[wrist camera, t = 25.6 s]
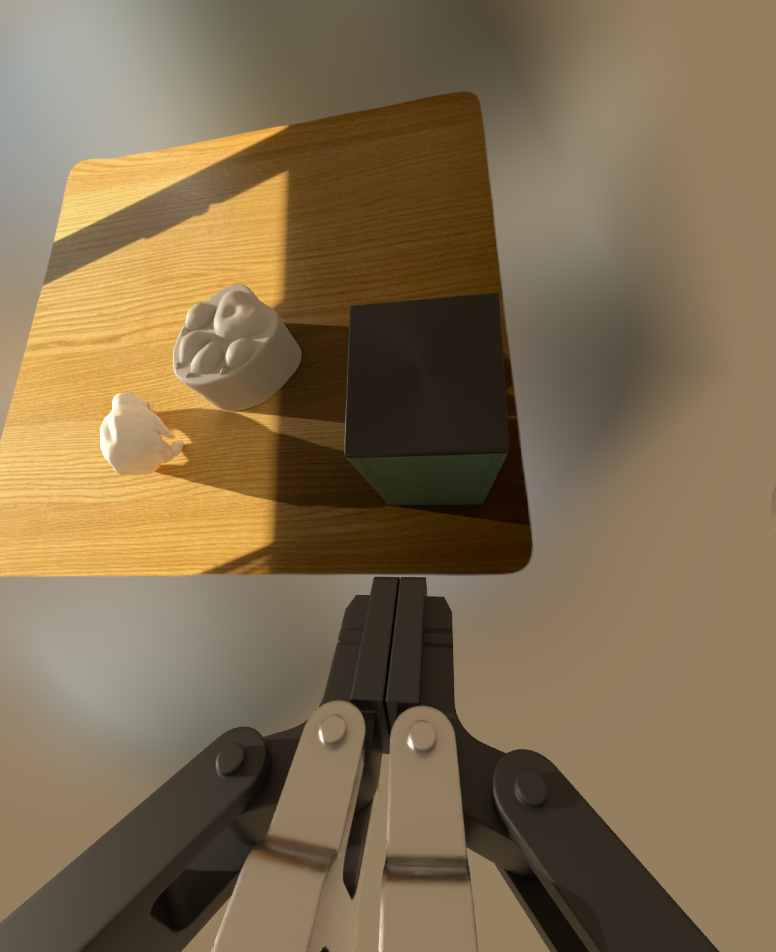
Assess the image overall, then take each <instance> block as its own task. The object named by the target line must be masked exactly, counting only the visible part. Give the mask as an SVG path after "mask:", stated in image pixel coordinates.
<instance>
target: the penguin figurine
mask: <svg viewBox="0 0 776 952" xmlns="http://www.w3.org/2000/svg"><path fill="white" fill-rule="evenodd" d="M148 403H149V402H148ZM148 403H147V404H146V403H145V401H144V400H143V399H142V398H141V397H140V396H139V395H137V394H135V393H131V392H123V393H119V394H117V395H116V396H115V397H114V399H113V402H112V411H111V412H110V413H109V415H108V416H106V417H105V419H104V421H103V423H102V425H101V428H100V448H101V450H102V453H103V455H104V457H105V459H106V460H107V461H108V462H109V463H110V464H111V465H112V467H113V470H114V471H115V472H117V473H119V474H121V475H125V474H128V475H147V474H151V473H152V472H154V471H155V470H157V469H158V467H159V466H160V464H161V463H166V462H168V461H170V460H172V459H173V458H174V457H176V456H178V455H179V454H180V452H181V450H182V449H183V446H184V443H183V441H176V442H174V443H172V444H170V445H169V444H168V443H166V442H165V441H163V440H162V436H161V435H163V436H165V437H167V438H170V439H172V438H174V437H175V436H174V435H173V434H172V433H171V432H170V431H169V429H168V428H167V427H166V426H165V425H164V423H163V421H162V420H161V419H160V417H159V416H158V415H156V414H155V413H153V412H152V411H156V410H152V409H151V408H154V407H151V408H150V406H151V405H152V404H153V403H152V402H150V403H149V405H148ZM151 403H152V404H151ZM150 404H151V405H150ZM160 434H161V435H160Z"/></svg>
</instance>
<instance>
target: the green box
mask: <svg viewBox="0 0 776 952" xmlns="http://www.w3.org/2000/svg"><path fill="white" fill-rule="evenodd" d="M507 454H508V453H506V454H474V455H443V456H412V457H380V458H349V459H348V458H347V459H348V460H349V461H350V463H351V464H352V465H353V466H354V467H355V468H356V469H357V470H358V471H359V473H360V474H361V475H362V476H363V477H364V478H365V479H366V480H367V481H368V483H369V484H370V485H371V486H372V487H373V488H374V489H375V490H376V492H377V493H378V494H379V495H380V496H381V497H382V498H383V499H384V500H385V502H386V503H387V504H388V505H389V506H391V505H464V504H483V503H484V501H485V499H486V497H487V495H488V493H489V491H490V489H491V486H492V484H493V482H494V480H495V478H496V476H497V474H498V472H499V470H500V468H501V466H502V464H503V462H504V460H505V458H506V456H507Z"/></svg>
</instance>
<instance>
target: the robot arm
mask: <svg viewBox="0 0 776 952" xmlns="http://www.w3.org/2000/svg"><path fill="white" fill-rule="evenodd" d="M382 754H390V758H389V789H388V792H389V793H388V823H387V850H386V851H387V852H386V861H385V866H384V870H383V877H382V889H381V908H380V934H379V952H478V944H477V935H476V924H475V915H474V904H473V895H472V886H471V878H470V871H469V866H468V859H467V849H466V847H467V848H469V849H471V850H472V851H474V852H476V853H478V854H479V855H481V856H483V857H485V858H486V859H488V860H490V861H492V862H493V863H495V865H496V867H497V869H498V870H499V872H500V873H501V875H502V876H503V878H504V880H505V881H506V883H507V884H508V886H509V888H510V889H511V890H512V892H513V894H514V895H515V897H516V899H517V900H518V902H519V903H520V905H521V906H522V908H523V909H524V911H525V913H526V914H527V916H528V917H529V919H530V920H531V922H532V924H533V925H534V927H535V928H536V930H537V932H538V933H539V935H540V936H541V938H542V939H543V941H544V943H545V944H546V946H547V947H548V949H549V950H550V952H719V951H718V950H717V948H716V947H715V946H714V945H713V944H712V943H711V942H710V941H709V939H708V938H707V937H706V936H705V935H704V934H703V933H702V932H701V930H700V929H699V928H698V927H697V926H696V925H695V923H694V922H693V921H692V920H691V919H690V918H689V917H688V916H687V914H686V913H685V912H684V911H683V910H682V909H681V908H680V907H679V906H678V904H677V903H676V902H675V901H674V900H673V899H672V897H671V896H670V895H669V894H668V893H667V892H666V891H665V890H664V888H663V887H662V886H661V885H660V884H659V883H658V882H657V880H656V879H655V878H654V877H653V876H652V875H651V874H650V873H649V871H648V870H647V869H646V868H645V867H644V866H643V865H642V864H641V862H640V861H639V860H638V859H637V858H636V857H635V856H634V854H633V853H632V852H631V851H630V850H629V849H628V848H627V847H626V845H625V844H624V843H623V842H622V841H621V840H620V839H619V837H618V836H617V835H616V834H615V833H614V832H613V831H612V830H611V828H610V827H609V826H608V825H607V824H606V823H605V822H604V821H603V819H602V818H601V817H600V816H599V815H598V814H597V813H596V811H595V810H594V809H593V808H592V807H591V806H590V805H589V804H588V802H587V801H586V800H585V799H584V798H583V797H582V796H581V795H580V793H579V792H578V791H577V790H576V789H575V788H574V787H573V785H572V784H571V783H570V782H569V781H568V780H567V779H566V777H565V776H564V775H563V774H562V773H561V772H560V771H559V770H558V768H557V767H556V766H555V765H554V764H553V763H552V762H551V761H550V760H548V759H547V758H546V757H544V756H543V755H541V754H539V753H537V752H534V751H531V750H526V749H518V750H513V751H511V752H508V753H507V754H506V753H504V752H501V751H499V750H497V749H495V748H493V747H490V746H488V745H486V744H484V743H482V742H480V741H478V740H476V739H475V738H474V737H472V736H471V735H470V734H469V733H468V732H467V731H466V730H465V729H464V727H463V726H462V724H461V722H460V721H459V719H458V716H457V714H456V710H455V704H454V669H453V634H452V611H451V609H450V608H449V606H448V604H447V602H446V600H445V598H444V597H429V596H427V586H426V578H425V577H423V578H422V577H401V578H399V577H374V579H373V584H372V589H371V594H370V595H356V596H355V597H354V599H353V600H352V601H351V603H350V604H349V606H348V607H347V608H346V611H345V614H344V618H343V622H342V627H341V630H340V633H339V637H338V643H337V645H336V649H335V653H334V657H333V661H332V665H331V669H330V673H329V677H328V681H327V685H326V689H325V693H324V696H323V699H322V701H321V703H320V706H319V707H318V709H316V710H315V711H314V712H313V713H312V715H311V716H310V717H309V719H308V720H307V721H305V722H304V723H302V724H301V725H299V726H297V727H295V728H292V729H289V730H286V731H282V732H279V733H275V734H272V735H269V736H265V737H262V735H261V734H260V733H259V732H258V731H257V730H255V729H253V728H250V727H238V728H234V729H232V730H229V731H227V732H226V733H224V734H222V735H221V736H220V737H218V738H217V739H216V740H215V741H214V742H212V743H211V744H210V745H209V746H208V747H207V748H205V750H203V751H202V752H201V753H200V754H198V755H197V756H196V757H195V758H194V759H192V760H191V761H190V762H189V763H188V764H187V765H185V766H184V767H183V768H182V769H181V770H180V771H178V772H177V773H176V774H175V775H174V776H173V777H171V778H170V779H169V780H168V781H167V782H165V783H164V784H163V785H162V786H161V787H160V788H158V789H157V790H156V791H155V792H154V793H153V794H151V795H150V796H149V797H148V798H147V799H145V800H144V801H143V802H142V803H141V804H140V805H138V806H137V807H136V808H135V809H134V810H133V811H131V812H130V813H129V814H128V815H127V816H125V817H124V818H123V819H122V820H121V821H120V822H118V823H117V824H116V825H115V826H114V827H113V828H111V829H110V830H109V831H108V832H107V833H106V834H104V835H103V836H102V837H101V838H100V839H99V840H97V841H96V842H95V843H94V844H93V845H91V846H90V847H89V848H88V849H87V850H86V851H84V852H83V853H82V854H81V855H80V856H78V857H77V858H76V859H75V860H74V861H73V862H71V863H70V864H69V865H68V866H67V867H66V868H64V870H62V871H61V872H60V873H58V874H57V875H56V876H55V877H54V878H53V879H51V880H50V881H49V882H48V883H47V884H46V885H44V886H43V887H42V888H41V889H40V890H38V891H37V892H36V893H35V894H34V895H33V896H31V897H30V898H29V899H28V900H27V901H26V902H24V904H22V905H21V906H20V907H19V908H18V909H16V910H15V911H14V912H13V913H11V914H10V915H9V916H8V917H7V918H6V919H4V920H3V921H2V922H1V923H0V952H181V951H182V950H183V949H184V948H185V947H186V946H187V945H188V943H189V942H190V941H191V940H192V939H193V938H194V937H195V936H196V934H197V933H198V932H199V931H200V930H201V929H202V928H203V926H205V924H206V923H207V922H208V921H209V920H210V919H211V918H212V916H213V915H214V914H215V913H216V912H217V911H218V910H219V909H220V908H221V906H222V905H223V904H224V903H225V902H226V901H227V900H228V899H229V898H230V896H231V895H232V897H231V899H230V902H229V905H228V907H227V910H226V913H225V915H224V918H223V921H222V924H221V927H220V929H219V932H218V935H217V937H216V940H215V943H214V946H213V948H212V951H211V952H356V947H357V939H358V929H359V906H360V896H361V889H362V884H363V877H364V872H365V867H366V861H367V855H368V849H369V844H370V837H371V832H372V826H373V821H374V815H375V809H376V804H377V798H378V791H379V775H380V766H381V757H382Z"/></svg>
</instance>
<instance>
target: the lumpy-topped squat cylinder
mask: <svg viewBox="0 0 776 952" xmlns="http://www.w3.org/2000/svg"><path fill="white" fill-rule="evenodd" d="M301 356H302V353H301V349H300V347H299V345H298V344H297V342H296V341H295V339H294V338H293V336H292V335H291V333H290V332H289V330H288V329H287V327H286V326H285V324H284V323H283V321H282V320H281V319H280V317H279V316H278V314H277V313H276V311H275V310H273V309H272V308H271V307H269V306H267V305H266V304H264V303H262V302H261V301H260V300H259V299H258V298H257V297H256V296H255V294H254V293H253V292H252V291H251V290H250V289H249V288H248V287H246V286H244V285H232V286H228V287H225V288H223V289H221V290H220V291H218V292H217V293H215V294H214V295H213V296H212V297H211V298H209V299H208V300H207V301H206V302H205V303H204V302H201V303H197V304H195V305H194V306H192V307H191V308H190V310H189V311H188V313H187V317H186V322H185V324H184V325H183V327H182V329H181V331H180V334H179V336H178V338H177V341H176V344H175V347H174V351H173V368H174V372H175V374H176V376H177V377H178V378H179V379H180V380H181V381H182V382H183V383H185V384H186V385H187V386H189V387H190V388H192V389H193V390H194V391H196V392H197V393H198V394H200V395H201V396H203V397H204V398H205V399H207V400H208V401H210V402H211V403H212V404H214V405H215V406H216V407H218V408H220V409H223V410H229V411H239V410H244V409H248V408H251V407H254V406H257V405H259V404H262V403H264V402H265V401H267V400H268V399H269V398H270V397H271V396H273V395H274V394H275V393H276V392H277V391H278V390H279V389H280V388H281V387H282V386H283V385H284V384H285V383H286V382H287V381H288V379H289V378H290V377H291V376H292V375H293V374H294V372H295V371H296V370H297V368H298V366H299V364H300V362H301Z"/></svg>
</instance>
